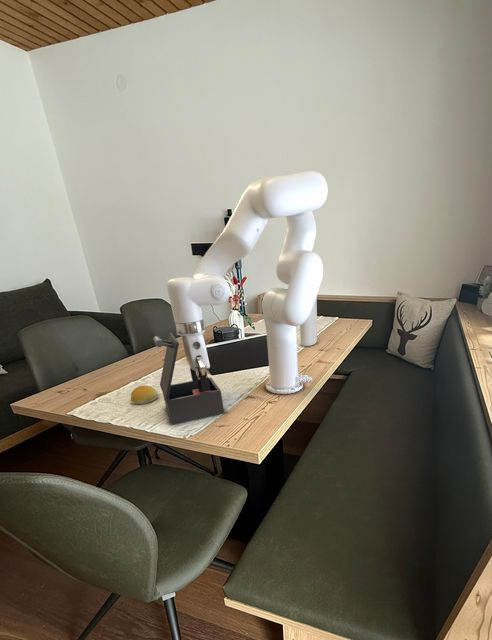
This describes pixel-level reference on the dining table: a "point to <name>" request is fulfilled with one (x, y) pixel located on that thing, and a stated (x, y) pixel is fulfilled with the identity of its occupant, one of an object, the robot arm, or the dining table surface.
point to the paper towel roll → (309, 328)
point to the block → (197, 391)
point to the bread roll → (143, 395)
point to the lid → (167, 362)
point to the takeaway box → (193, 402)
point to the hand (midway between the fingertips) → (201, 385)
